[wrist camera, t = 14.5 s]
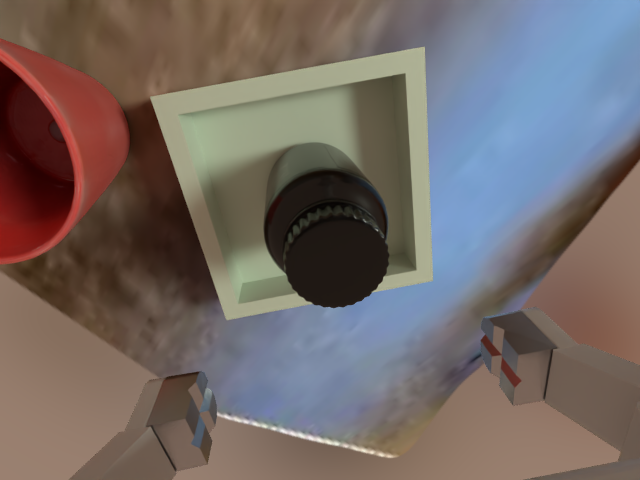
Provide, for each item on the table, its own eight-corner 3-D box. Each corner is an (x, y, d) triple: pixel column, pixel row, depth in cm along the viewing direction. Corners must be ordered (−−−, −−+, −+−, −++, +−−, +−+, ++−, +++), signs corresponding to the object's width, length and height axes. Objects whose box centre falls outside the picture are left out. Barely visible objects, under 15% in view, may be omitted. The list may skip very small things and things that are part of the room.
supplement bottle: (295, 244, 29) (303, 348, 18) (249, 168, 26) (224, 238, 15) (374, 204, 28) (432, 288, 17) (335, 122, 25) (375, 159, 14)
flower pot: (-31, 163, 25) (-204, 212, 16) (-2, -1, 21) (-204, -54, 13) (125, 226, 28) (52, 297, 19) (174, 91, 24) (111, 101, 15)
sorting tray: (170, 93, 24) (150, 96, 21) (403, 50, 24) (424, 46, 21) (233, 291, 31) (226, 320, 27) (415, 256, 31) (432, 280, 28)
